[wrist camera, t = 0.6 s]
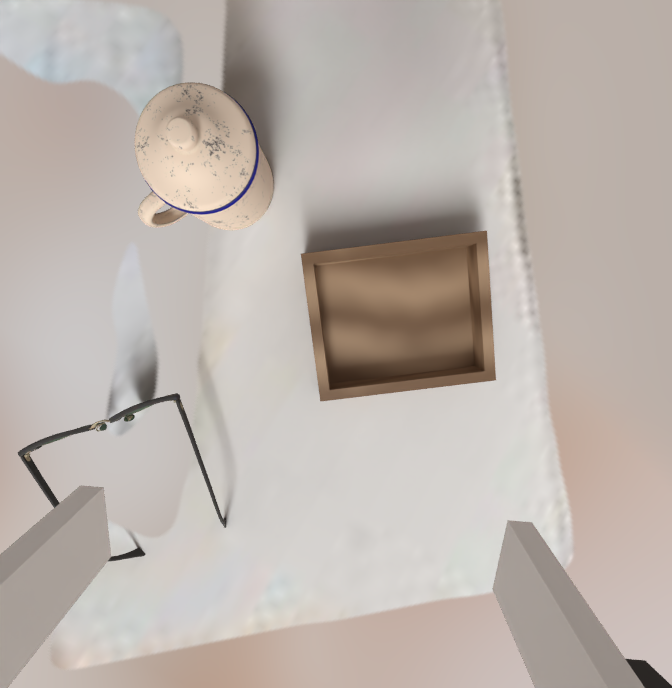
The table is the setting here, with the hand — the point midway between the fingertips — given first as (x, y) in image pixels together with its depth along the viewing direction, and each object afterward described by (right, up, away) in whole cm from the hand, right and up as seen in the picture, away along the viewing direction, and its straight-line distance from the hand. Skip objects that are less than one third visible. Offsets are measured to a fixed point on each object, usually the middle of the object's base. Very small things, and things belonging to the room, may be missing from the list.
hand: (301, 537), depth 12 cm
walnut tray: (+7, +9, +25) cm, 27 cm away
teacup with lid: (-10, +21, +23) cm, 33 cm away
